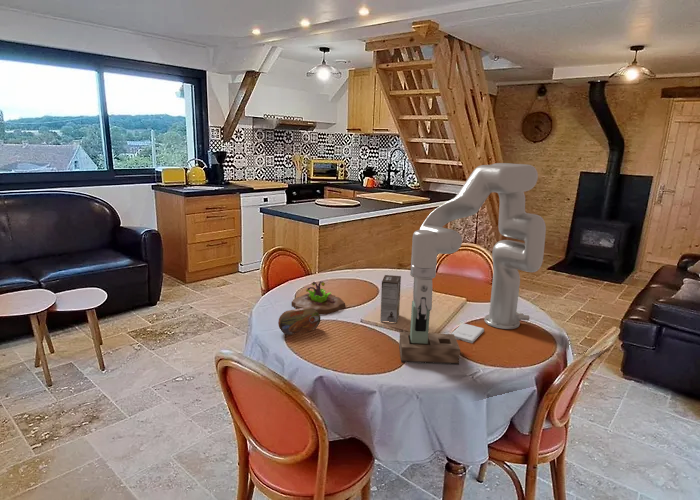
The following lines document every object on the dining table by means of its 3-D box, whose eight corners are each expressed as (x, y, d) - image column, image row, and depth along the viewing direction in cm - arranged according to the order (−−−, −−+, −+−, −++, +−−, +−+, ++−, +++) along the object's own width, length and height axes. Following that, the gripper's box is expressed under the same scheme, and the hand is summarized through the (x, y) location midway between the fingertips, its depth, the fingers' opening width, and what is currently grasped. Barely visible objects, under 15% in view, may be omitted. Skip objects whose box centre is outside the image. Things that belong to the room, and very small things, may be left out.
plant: (313, 319, 167) (313, 291, 165) (284, 305, 182) (284, 279, 179) (352, 307, 180) (353, 281, 178) (323, 295, 194) (323, 270, 192)
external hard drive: (483, 332, 159) (472, 344, 149) (461, 326, 164) (449, 338, 153) (484, 328, 159) (472, 340, 149) (462, 322, 163) (449, 334, 153)
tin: (280, 337, 151) (280, 314, 149) (277, 333, 154) (277, 310, 152) (320, 329, 158) (320, 307, 156) (317, 326, 160) (317, 304, 158)
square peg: (425, 336, 141) (428, 301, 138) (427, 343, 136) (430, 306, 133) (410, 336, 141) (412, 300, 139) (411, 342, 136) (413, 306, 134)
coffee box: (383, 313, 174) (384, 274, 170) (399, 315, 172) (401, 275, 169) (379, 322, 165) (381, 281, 161) (397, 324, 164) (399, 282, 160)
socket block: (452, 348, 145) (453, 334, 144) (459, 364, 134) (460, 349, 133) (399, 346, 146) (399, 332, 145) (401, 362, 135) (401, 347, 134)
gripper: (439, 279, 125) (435, 339, 129) (432, 264, 142) (428, 317, 146) (413, 278, 126) (409, 338, 130) (408, 263, 142) (405, 316, 146)
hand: (419, 326), depth 138 cm, fingers closed on square peg, 5 cm apart
